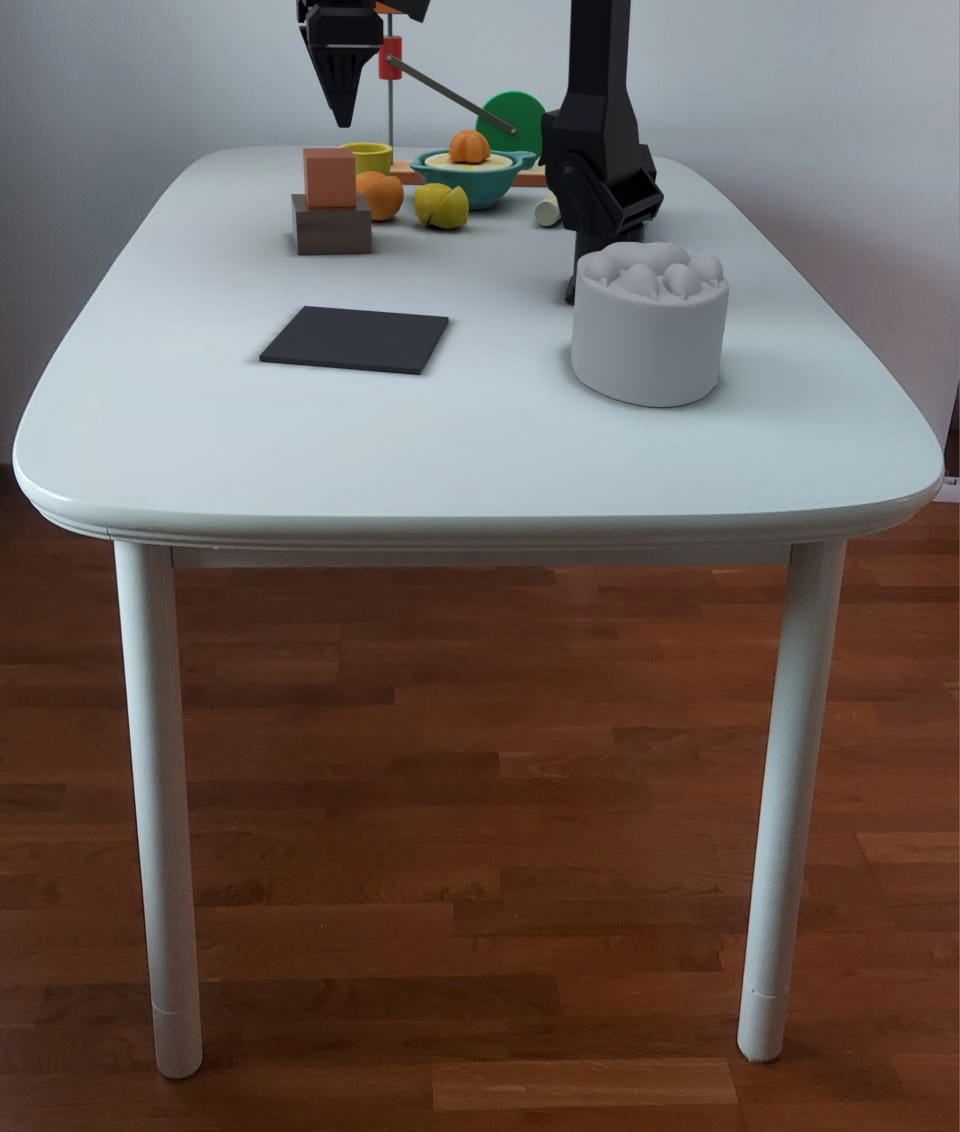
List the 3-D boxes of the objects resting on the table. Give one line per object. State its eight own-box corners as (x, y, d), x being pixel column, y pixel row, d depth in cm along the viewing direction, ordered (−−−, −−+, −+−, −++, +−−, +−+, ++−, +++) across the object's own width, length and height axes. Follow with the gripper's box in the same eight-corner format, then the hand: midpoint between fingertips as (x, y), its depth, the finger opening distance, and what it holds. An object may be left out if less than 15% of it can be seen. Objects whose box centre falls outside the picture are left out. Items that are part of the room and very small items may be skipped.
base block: (372, 253, 111) (371, 210, 109) (297, 254, 110) (295, 211, 108) (363, 233, 117) (362, 192, 115) (293, 235, 116) (291, 194, 114)
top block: (356, 207, 110) (355, 157, 108) (308, 208, 109) (306, 158, 107) (351, 196, 114) (350, 147, 112) (304, 196, 113) (302, 148, 111)
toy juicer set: (330, 232, 118) (327, 151, 114) (340, 189, 133) (338, 117, 129) (614, 236, 119) (621, 157, 115) (591, 194, 135) (596, 123, 131)
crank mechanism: (359, 183, 137) (356, 0, 127) (361, 170, 142) (358, -6, 132) (573, 187, 138) (585, 6, 128) (566, 174, 144) (578, 0, 134)
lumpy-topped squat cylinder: (694, 343, 92) (709, 232, 88) (735, 407, 81) (754, 283, 77) (563, 342, 92) (571, 230, 87) (586, 406, 80) (596, 282, 76)
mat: (420, 374, 85) (420, 369, 84) (259, 360, 86) (258, 355, 86) (448, 321, 95) (448, 316, 95) (304, 310, 96) (304, 305, 96)
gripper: (445, -66, 94) (442, 137, 102) (412, -76, 110) (411, 101, 118) (305, -70, 92) (313, 138, 100) (292, -80, 108) (299, 101, 116)
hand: (339, 118), depth 108 cm, fingers open, 9 cm apart
